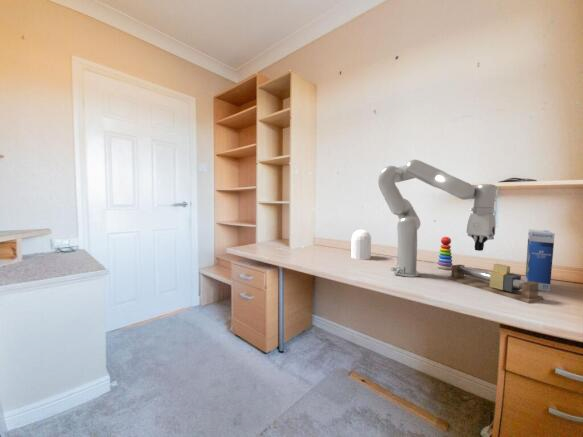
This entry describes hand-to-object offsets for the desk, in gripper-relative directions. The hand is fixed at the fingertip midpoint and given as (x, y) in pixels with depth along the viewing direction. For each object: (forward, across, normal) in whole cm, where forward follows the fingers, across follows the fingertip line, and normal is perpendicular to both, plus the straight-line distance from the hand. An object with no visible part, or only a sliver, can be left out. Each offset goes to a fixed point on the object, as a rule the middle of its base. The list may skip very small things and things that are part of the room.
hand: (478, 250), depth 116 cm
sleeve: (+14, +10, +1) cm, 17 cm away
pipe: (+13, +5, +1) cm, 14 cm away
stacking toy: (+17, -25, +14) cm, 34 cm away
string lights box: (+16, +13, +24) cm, 31 cm away
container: (+20, -67, -14) cm, 72 cm away
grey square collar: (+14, +14, +1) cm, 20 cm away
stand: (+16, +6, +1) cm, 17 cm away
